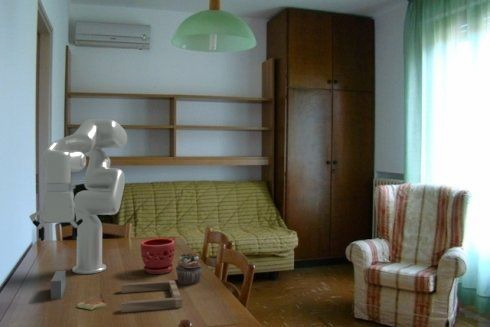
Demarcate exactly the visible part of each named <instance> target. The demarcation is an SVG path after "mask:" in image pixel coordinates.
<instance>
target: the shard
mask: <svg viewBox="0 0 490 327" xmlns="http://www.w3.org/2000/svg"><path fill="white" fill-rule="evenodd" d="M106 306H107V303H106V301H105V298H104V296H103V295H102V293H101V292H100V293H98V294H97V295H94V296H91V297H89V298H86V299H83V301H81V302H79V303H78V304H77V308H80V309H81V308H82V309H86V310H91V311H92V310H94V309H99V308H103V307H106Z"/></svg>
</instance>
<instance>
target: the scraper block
mask: <svg viewBox="0 0 490 327" xmlns="http://www.w3.org/2000/svg"><path fill="white" fill-rule="evenodd" d="M66 277H67V276H66V270H57V271H55V273H54V275H53V276H52V279H51V281H50V300H61V299H62V297H63V296H64V292H65V290H66V287H67V286H66V284H67V283H66V281H67V280H66V279H67V278H66Z"/></svg>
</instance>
